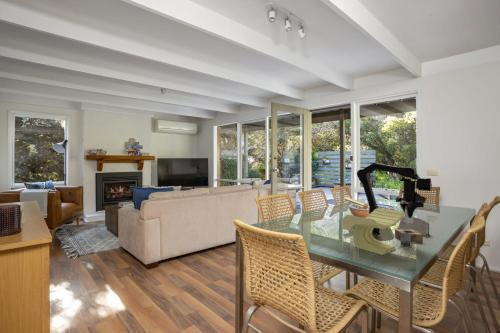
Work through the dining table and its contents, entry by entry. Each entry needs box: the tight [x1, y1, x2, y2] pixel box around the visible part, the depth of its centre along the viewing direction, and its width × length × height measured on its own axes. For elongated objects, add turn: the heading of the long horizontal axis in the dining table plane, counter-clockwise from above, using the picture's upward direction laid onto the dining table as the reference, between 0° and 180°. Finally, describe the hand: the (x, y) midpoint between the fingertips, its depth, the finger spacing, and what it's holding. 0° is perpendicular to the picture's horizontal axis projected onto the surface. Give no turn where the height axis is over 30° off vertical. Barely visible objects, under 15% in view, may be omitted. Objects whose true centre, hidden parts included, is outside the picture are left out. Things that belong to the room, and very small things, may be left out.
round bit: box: [399, 232, 412, 247], centre depth 139 cm, size 5×5×6 cm
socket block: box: [394, 228, 424, 243], centre depth 150 cm, size 10×10×4 cm
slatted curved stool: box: [342, 207, 405, 256], centre depth 135 cm, size 30×16×18 cm, turn 127°
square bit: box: [404, 206, 414, 223], centre depth 149 cm, size 3×3×9 cm
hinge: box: [397, 216, 430, 237], centre depth 164 cm, size 17×5×10 cm, turn 36°
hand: (408, 217), depth 150 cm, fingers closed on square bit, 3 cm apart
